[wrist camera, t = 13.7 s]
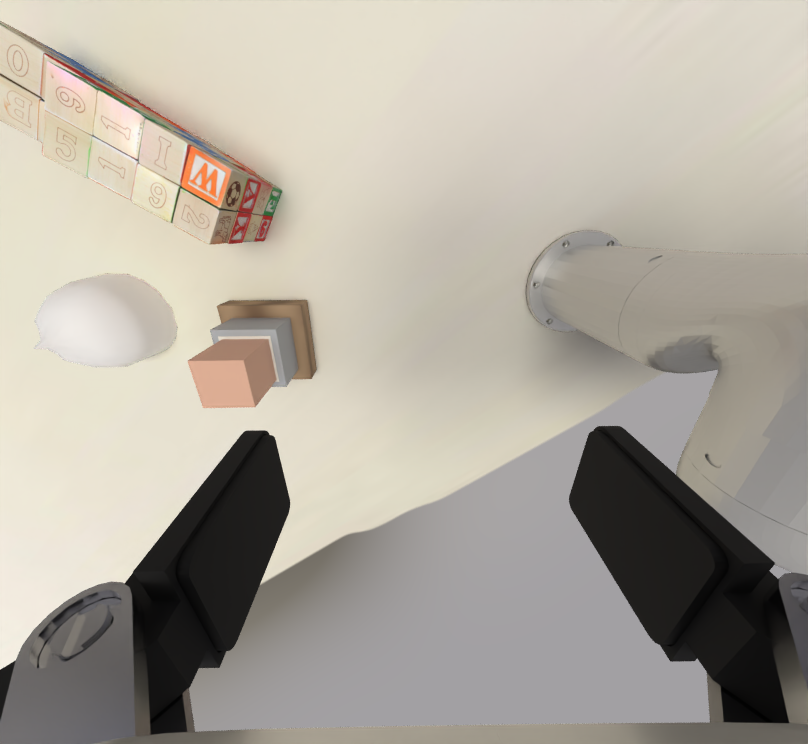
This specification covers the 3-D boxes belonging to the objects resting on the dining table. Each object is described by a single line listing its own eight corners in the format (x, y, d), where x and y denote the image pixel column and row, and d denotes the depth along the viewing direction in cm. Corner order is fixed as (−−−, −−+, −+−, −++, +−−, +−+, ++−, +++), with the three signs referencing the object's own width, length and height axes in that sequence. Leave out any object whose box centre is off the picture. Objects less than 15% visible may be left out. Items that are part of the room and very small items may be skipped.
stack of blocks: (64, 127, 31) (-122, 68, 20) (71, 57, 29) (-134, -54, 17) (265, 242, 36) (208, 246, 25) (284, 190, 34) (231, 169, 23)
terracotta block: (268, 338, 33) (243, 360, 27) (276, 379, 35) (255, 407, 29) (221, 339, 32) (187, 360, 27) (232, 380, 35) (203, 408, 29)
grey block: (290, 317, 37) (275, 329, 32) (298, 369, 40) (286, 387, 35) (232, 318, 37) (209, 330, 32) (245, 369, 40) (225, 387, 35)
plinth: (307, 300, 39) (300, 305, 36) (316, 369, 43) (311, 378, 40) (229, 300, 39) (216, 305, 36) (246, 370, 43) (236, 380, 40)
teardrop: (65, 282, 37) (-70, 302, 26) (149, 264, 37) (46, 277, 26) (118, 362, 42) (22, 407, 31) (193, 347, 41) (122, 388, 30)
